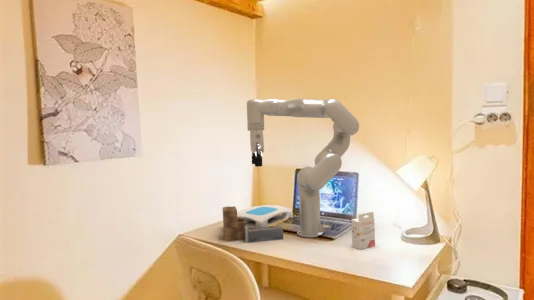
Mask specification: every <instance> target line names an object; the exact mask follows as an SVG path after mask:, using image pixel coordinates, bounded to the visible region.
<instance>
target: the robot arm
mask: <svg viewBox="0 0 534 300" xmlns="http://www.w3.org/2000/svg"><path fill="white" fill-rule="evenodd" d="M265 116H271V117H272V116H273V117H293V118H311V119H313V118H315V119H316V118H318V119H331V121H332V122H333V125H332V128H333V137H332V139H331V141H329V143H328V144H327V145H326V146H325V147H324V148H323V149H322V150H321V151H320V152H319V153H317V155H316V156H315V158H314V165H315V166H314V167H311V166H305V167H302V168H301V169H299V172H298V174H297V178H296V179H297V188H298V197H299V198H298V200H299V230H300V232H301V233H299V232H296V234H297V236H299V237H301V238H306V239H307V238H310V239H311V238H319V237H318V234H317V233H319V232H322V231H325V230H331V228H332V227H331V224H326V223H325V224H322V223H321V199H320V198H321V196H320V190H321V189H323V188H324V187H326V186H327V184H328V183H329V182H330V181H331V180H332V179H333V178H334V177H335V176H336V174H337V173H339V171H340V170H341V167H342V164H343V163H342V162H343V161H342V157H343V156H344V155H345V153H346V152H347V150H348V149H349V147H350V143H351V136H354V135H355V134H357V133H358V132H359V129H360V123H359V121H358V119H357V118H356V116H354V115H353V114H352V113H351V111H349V109H348V108H346V106H345V105H343V103H342V102H340V101H339V100H338V99H335V98H329V99H323V98H322V99H319V98H318V99H316V98H315V99H314V98H312V99H311V98H298V99H286V100H285V99H284V100H283V99H277V98H268V99H259V98H258V99H257V98H256V99H255V98H254V99H248V100H247V102H246V117H247V118H246V119H247V120H246V123H247V131H249V141H250V142H249V143H250V145H249V146H250V151H251V164H252V165H254V167H256V168H257V167H263V153H264V152H265V145H264V144H265V142H264V132H263V131H265Z"/></svg>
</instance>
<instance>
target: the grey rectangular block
mask: <svg viewBox="0 0 534 300" xmlns="http://www.w3.org/2000/svg"><path fill="white" fill-rule="evenodd" d="M244 234H245V240H244V243H246V244H248V243H258V242H268V241H269V242H270V241H278V240H284V228H283V226H273V227H270V228H259V229H248V227H247V225H245V226H244Z"/></svg>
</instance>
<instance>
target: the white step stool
mask: <svg viewBox="0 0 534 300" xmlns="http://www.w3.org/2000/svg"><path fill="white" fill-rule="evenodd" d="M289 217H290V218H291V217H293V210H292V209H291V208H288V207H286V206H283V205H276V204H264V205H255V206H251V207H248V208H245V209H242V210H240V211H237V219H239V218H244V219H245V222H246V225H247V227H248V229H259V228H269V226H270V225H271V224H273V223H275V222H277V221H279V220H283V219H286V218H289ZM271 218H272V219H275V220H272V221H270V222H269V219H271ZM290 218H289V219H290ZM252 221H253V222H255V223H250V222H252Z"/></svg>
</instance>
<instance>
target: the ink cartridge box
mask: <svg viewBox="0 0 534 300" xmlns="http://www.w3.org/2000/svg"><path fill="white" fill-rule="evenodd" d="M357 216H358V218H352V219H351V220H350V221H351V245H352V246H351V247H353V248H354V249H357V250H364V249H368V248H371V247H375V246H376V238H375V237H376V235H375V232H376V231H375V228H376V227H375V217H374V212H373V211H370V212H369V211H368V212H364V213H360V214H358V215H357Z"/></svg>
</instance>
